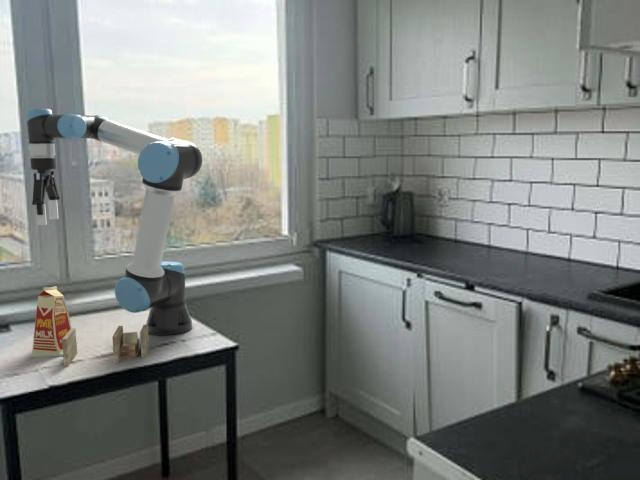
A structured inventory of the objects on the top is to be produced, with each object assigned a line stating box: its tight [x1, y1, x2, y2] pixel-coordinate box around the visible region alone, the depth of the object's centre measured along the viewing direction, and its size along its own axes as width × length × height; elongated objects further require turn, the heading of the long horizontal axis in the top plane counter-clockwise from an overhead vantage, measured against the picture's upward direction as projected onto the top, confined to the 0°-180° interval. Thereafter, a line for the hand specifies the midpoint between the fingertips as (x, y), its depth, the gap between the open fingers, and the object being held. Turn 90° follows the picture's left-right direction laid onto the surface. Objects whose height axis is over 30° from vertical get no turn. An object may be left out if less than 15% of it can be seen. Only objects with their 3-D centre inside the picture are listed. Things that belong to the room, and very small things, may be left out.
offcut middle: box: [121, 337, 140, 352], centre depth 180 cm, size 4×6×2 cm, turn 6°
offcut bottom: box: [121, 345, 141, 358], centre depth 180 cm, size 4×6×2 cm, turn 5°
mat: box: [28, 340, 78, 359], centre depth 183 cm, size 11×11×1 cm
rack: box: [62, 324, 150, 367], centre depth 176 cm, size 22×10×8 cm, turn 99°
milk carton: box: [31, 285, 72, 354], centre depth 182 cm, size 9×9×20 cm
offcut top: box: [123, 331, 139, 346], centre depth 179 cm, size 4×6×2 cm, turn 15°
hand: (48, 222), depth 198 cm, fingers open, 13 cm apart
